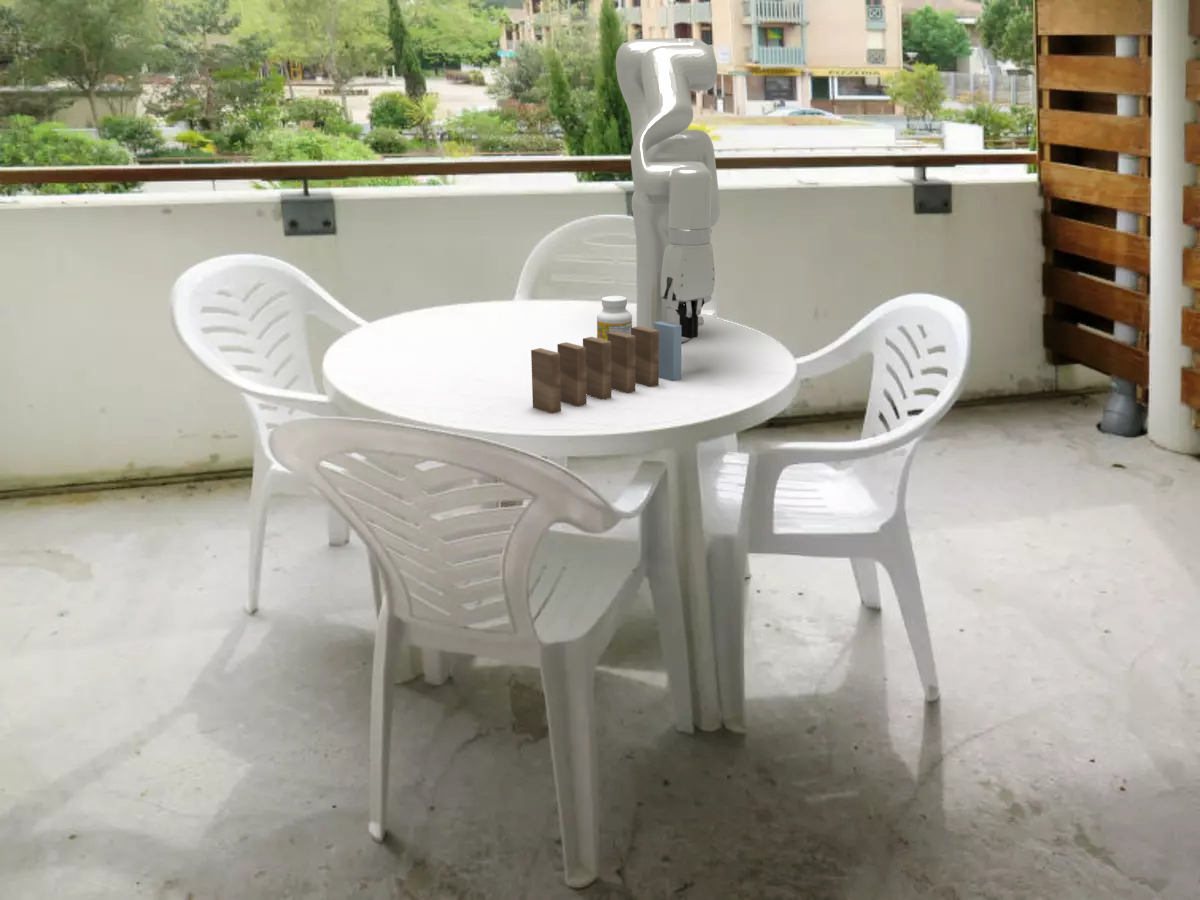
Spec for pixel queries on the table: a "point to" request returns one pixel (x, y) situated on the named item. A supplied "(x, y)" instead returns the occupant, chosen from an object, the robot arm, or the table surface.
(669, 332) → the domino
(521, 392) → the table surface
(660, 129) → the robot arm
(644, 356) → the domino
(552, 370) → the domino
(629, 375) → the domino
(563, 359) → the domino
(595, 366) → the domino
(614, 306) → the supplement bottle
